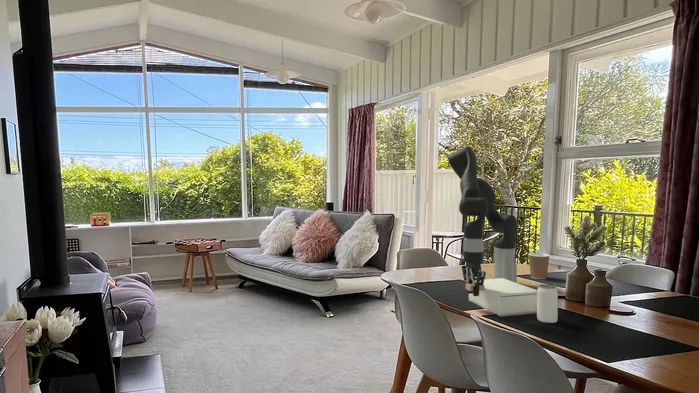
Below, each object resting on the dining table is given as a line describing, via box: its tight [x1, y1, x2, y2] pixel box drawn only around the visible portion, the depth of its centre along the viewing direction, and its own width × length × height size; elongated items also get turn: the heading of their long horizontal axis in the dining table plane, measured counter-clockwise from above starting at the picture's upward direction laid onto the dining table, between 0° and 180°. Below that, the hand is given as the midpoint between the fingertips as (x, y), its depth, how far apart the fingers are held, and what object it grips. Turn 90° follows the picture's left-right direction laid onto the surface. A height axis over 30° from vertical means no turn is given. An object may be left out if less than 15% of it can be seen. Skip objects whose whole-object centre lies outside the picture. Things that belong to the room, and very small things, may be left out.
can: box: [536, 284, 559, 324], centre depth 146 cm, size 6×6×12 cm
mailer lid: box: [465, 278, 537, 296], centre depth 162 cm, size 23×22×2 cm
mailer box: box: [468, 290, 537, 318], centre depth 163 cm, size 16×22×7 cm
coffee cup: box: [527, 252, 551, 280], centre depth 213 cm, size 10×10×12 cm
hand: (473, 294), depth 160 cm, fingers closed on mailer lid, 3 cm apart
